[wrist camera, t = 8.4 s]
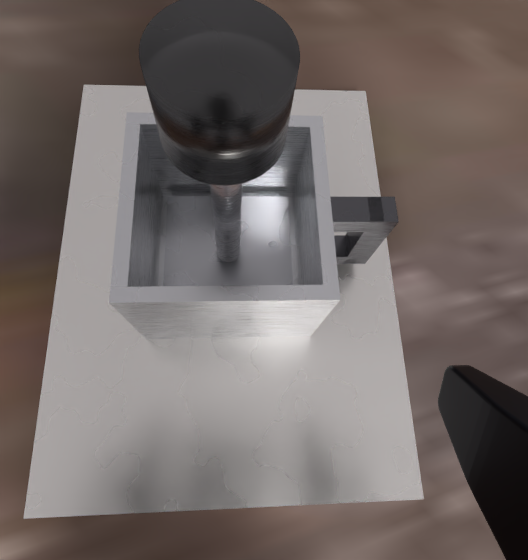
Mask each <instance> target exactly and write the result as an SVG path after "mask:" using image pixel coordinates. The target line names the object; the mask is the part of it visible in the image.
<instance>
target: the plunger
mask: <svg viewBox="0 0 528 560" xmlns="http://www.w3.org/2000/svg"><path fill="white" fill-rule="evenodd" d="M139 59H140V65H141V68H142V72H143V76H144V80H145V84H146V87H147V91H148V95H149V99H150V103H151V106H152V110H153V114H154V118H155V122H156V125H157V129H158V133H159V137H160V141H161V144H162V147H163V150H164V152H165V154H166V156H167V157H168V159H169V160H170V161H171V163H172V164H173V165H174V166H175V167H176V168H177V169H178V170H180V171H181V172H182V173H184V174H185V175H187V176H189V177H190V178H193V179H195V180H197V181H200V182H203V183H207V184H210V192H211V196H168V198H167V218H166V238H165V258H164V278H163V286H243V285H293V275H292V258H291V241H290V224H289V207H288V197H263V196H242V183H245V182H249V181H251V180H254V179H256V178H258V177H260V176H261V175H263V174H264V173H266V172H267V171H268V170H270V169H271V168H272V167H273V166H274V165H275V163H276V162H277V161H278V159H279V158H280V156H281V154H282V152H283V150H284V147H285V143H286V137H287V131H288V126H289V120H290V114H291V109H292V103H293V97H294V91H295V86H296V80H297V74H298V69H299V63H300V51H299V45H298V42H297V39H296V37H295V35H294V33H293V31H292V29H291V28H290V26H289V25H288V24H287V23H286V21H285V20H284V19H283V18H282V17H281V16H279V15H278V14H277V13H276V12H275V11H273V10H272V9H270V8H269V7H267V6H265V5H263V4H261V3H259V2H257V1H254V0H179V1H177V2H175V3H173V4H171V5H169V6H167V7H166V8H164V9H163V10H162V11H160V12H159V13H158V14H157V15H156V16H155V17H154V18H153V19H152V20H151V21H150V23H149V24H148V25H147V27H146V29H145V30H144V32H143V35H142V37H141V40H140V46H139Z"/></svg>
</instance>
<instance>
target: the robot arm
mask: <svg viewBox="0 0 528 560" xmlns="http://www.w3.org/2000/svg"><path fill="white" fill-rule="evenodd" d="M438 406H439V410H440V413H441V416H442V418H443V421H444V423H445V426H446V429H447V431H448V434H449V437H450V439H451V442H452V444H453V447H454V450H455V452H456V455H457V457H458V460H459V463H460V465H461V468H462V470H463V473H464V475H465V478H466V480H467V482H468V484H469V486H470V489H471V491H472V493H473V495H474V497H475V499H476V501H477V503H478V505H479V507H480V509H481V511H482V513H483V515H484V517H485V519H486V521H487V523H488V525H489V527H490V529H491V530H492V532H493V534H494V536H495V538H496V540H497V542H498V544H499V546H500V548H501V550H502V552H503V554H504V556H505V558H506V560H528V396H526V395H524V394H522V393H520V392H519V391H517V390H515V389H513V388H511V387H509V386H507V385H505V384H503V383H502V382H500V381H498V380H496V379H494V378H492V377H490V376H488V375H487V374H485V373H483V372H481V371H479V370H477V369H475V368H473V367H471V366H469V365H452V366H449V367H447V369H446V370H445V373H444V377H443V381H442V385H441V389H440V393H439V397H438Z"/></svg>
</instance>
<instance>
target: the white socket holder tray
mask: <svg viewBox="0 0 528 560" xmlns="http://www.w3.org/2000/svg"><path fill="white" fill-rule="evenodd" d="M168 196H211V192H210V184H207V183H203V182H200V181H197V180H195V179H193V178H190V177H189V176H187V175H185V174H184V173H182V172H181V171H180V170H178V169H177V168H176V167H175V166H174V165H173V164H172V163H171V161H170V160H169V159H168V157H167V156H166V154H165V152H164V150H163V147H162V144H161V141H160V137H159V133H158V129H157V125H156V122H155V118H154V114H153V110H152V106H151V103H150V99H149V95H148V91H147V87H146V86H120V85H84V87H83V94H82V102H81V109H80V116H79V123H78V130H77V137H76V145H75V152H74V159H73V166H72V173H71V181H70V188H69V195H68V202H67V209H66V217H65V224H64V231H63V238H62V245H61V253H60V260H59V267H58V274H57V281H56V288H55V296H54V303H53V310H52V317H51V324H50V332H49V339H48V346H47V353H46V360H45V368H44V375H43V382H42V389H41V396H40V403H39V411H38V418H37V425H36V432H35V439H34V447H33V454H32V461H31V468H30V475H29V483H28V490H27V497H26V504H25V511H24V519H26V518H46V517H67V516H87V515H108V514H128V513H149V512H170V511H190V510H211V509H231V508H252V507H272V506H293V505H313V504H334V503H354V502H375V501H396V500H416V499H424V497H423V490H422V483H421V476H420V469H419V462H418V455H417V448H416V441H415V434H414V427H413V420H412V413H411V406H410V399H409V392H408V385H407V378H406V371H405V364H404V357H403V350H402V343H401V336H400V329H399V322H398V315H397V308H396V301H395V294H394V287H393V280H392V273H391V266H390V259H389V252H388V245H387V238H386V237H387V236H388V234H389V233H390V232H391V231H392V229H393V228H394V227H395V226H396V224H397V223H398V216H397V209H396V203H395V197H381V196H380V189H379V182H378V175H377V168H376V161H375V154H374V147H373V140H372V133H371V126H370V119H369V112H368V105H367V98H366V91H339V90H295V91H294V97H293V103H292V109H291V114H290V120H289V126H288V131H287V137H286V143H285V147H284V150H283V152H282V154H281V156H280V158H279V159H278V161H277V162H276V163H275V165H274V166H273V167H272V168H271V169H270V170H268V171H267V172H266V173H264V174H263V175H261V176H260V177H258V178H256V179H254V180H251V181H249V182H245V183H242V196H263V197H288V207H289V224H290V241H291V258H292V275H293V285H243V286H163V278H164V258H165V238H166V218H167V198H168Z"/></svg>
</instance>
